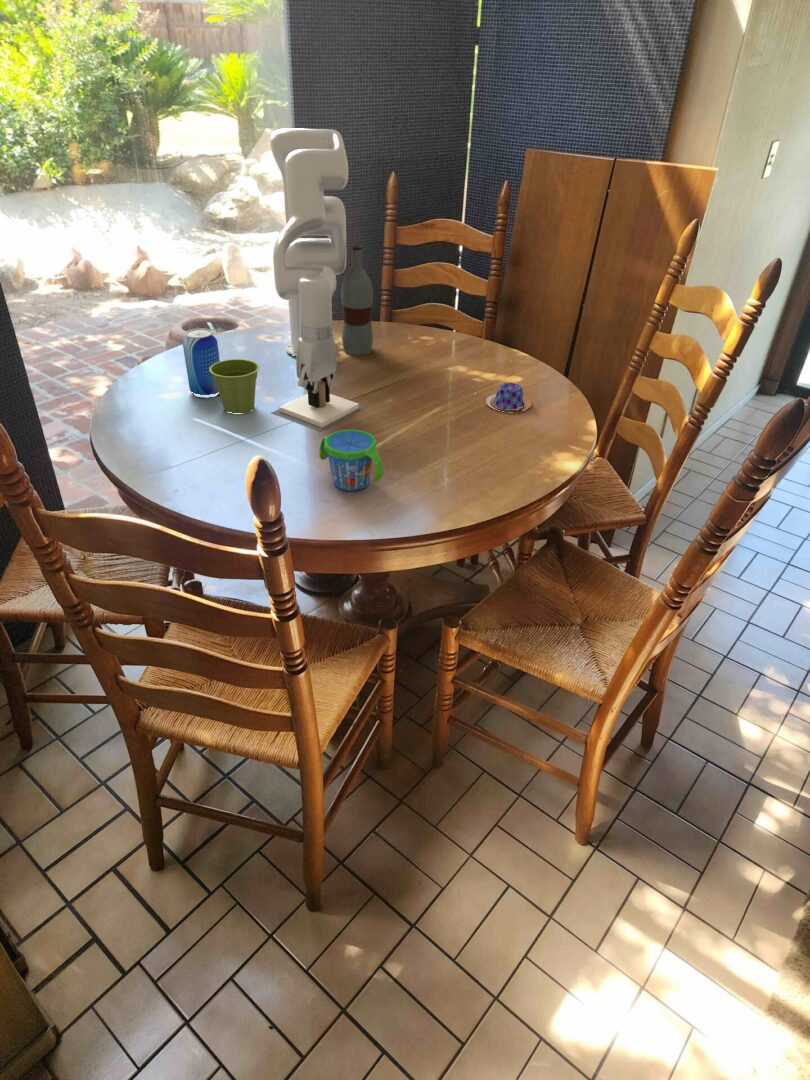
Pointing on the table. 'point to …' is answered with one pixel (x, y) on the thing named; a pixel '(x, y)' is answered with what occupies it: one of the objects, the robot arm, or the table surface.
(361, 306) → the bottle
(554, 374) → the table surface
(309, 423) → the mat
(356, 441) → the snack cup
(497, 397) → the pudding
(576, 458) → the table surface
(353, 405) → the lid
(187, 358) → the beer can
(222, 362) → the plant pot
